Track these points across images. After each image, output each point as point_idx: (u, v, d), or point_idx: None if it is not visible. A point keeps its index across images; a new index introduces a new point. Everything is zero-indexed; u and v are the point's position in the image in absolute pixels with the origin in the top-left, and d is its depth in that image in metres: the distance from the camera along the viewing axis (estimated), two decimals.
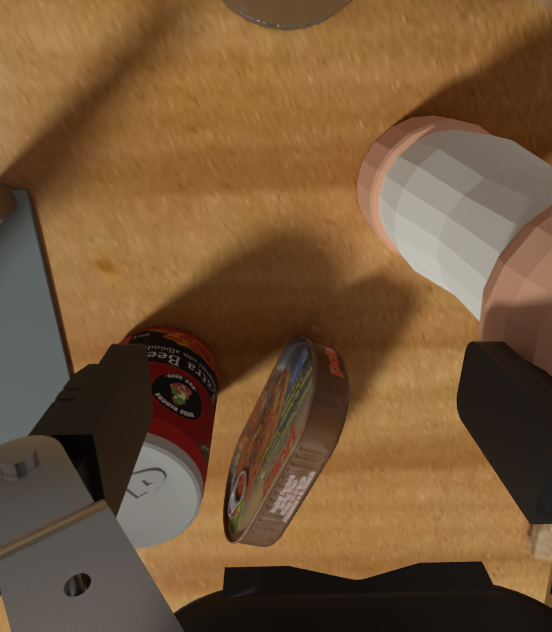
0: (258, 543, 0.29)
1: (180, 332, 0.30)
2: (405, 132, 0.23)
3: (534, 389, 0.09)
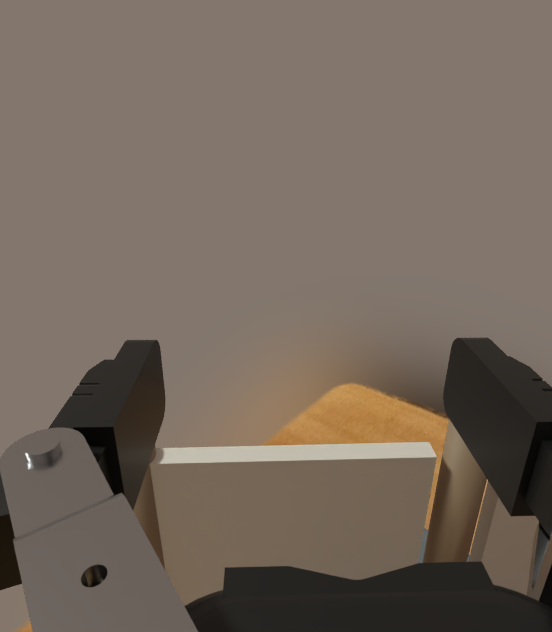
0: None
1: None
2: None
3: (515, 384, 0.09)
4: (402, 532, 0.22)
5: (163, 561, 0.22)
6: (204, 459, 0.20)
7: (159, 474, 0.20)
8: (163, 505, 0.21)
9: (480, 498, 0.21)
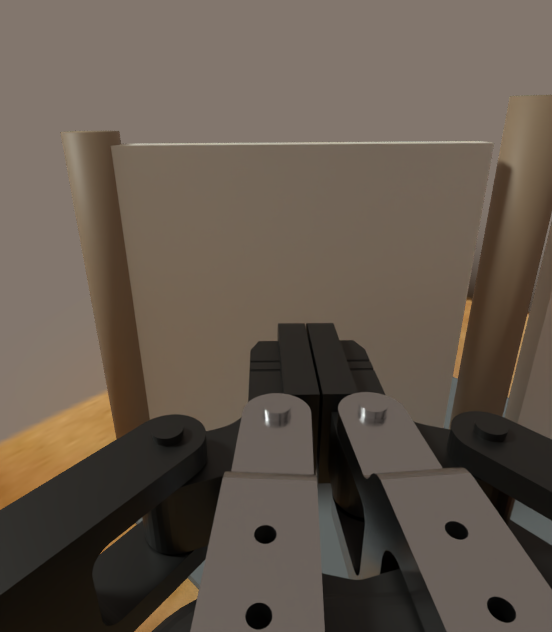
0: None
1: None
2: None
3: (327, 362, 0.10)
4: (443, 274, 0.17)
5: (134, 316, 0.17)
6: (183, 144, 0.15)
7: (124, 164, 0.15)
8: (131, 220, 0.16)
9: (549, 211, 0.16)
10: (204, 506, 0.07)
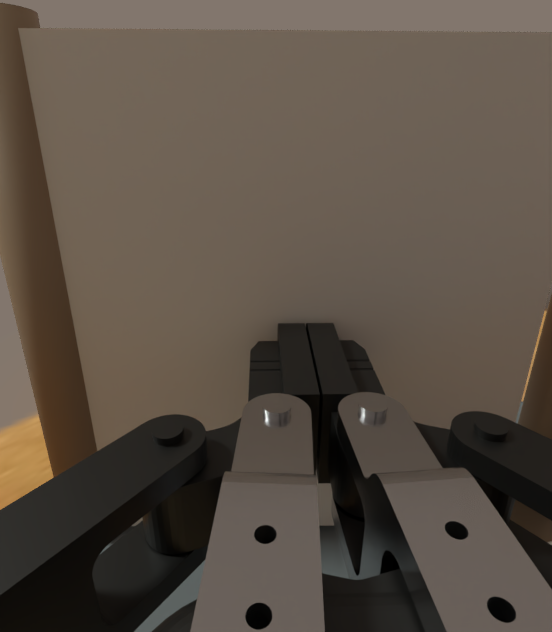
0: None
1: None
2: None
3: (327, 362, 0.10)
4: (521, 244, 0.11)
5: (67, 299, 0.12)
6: (132, 31, 0.10)
7: (41, 60, 0.10)
8: (56, 152, 0.10)
9: None
10: (204, 506, 0.07)
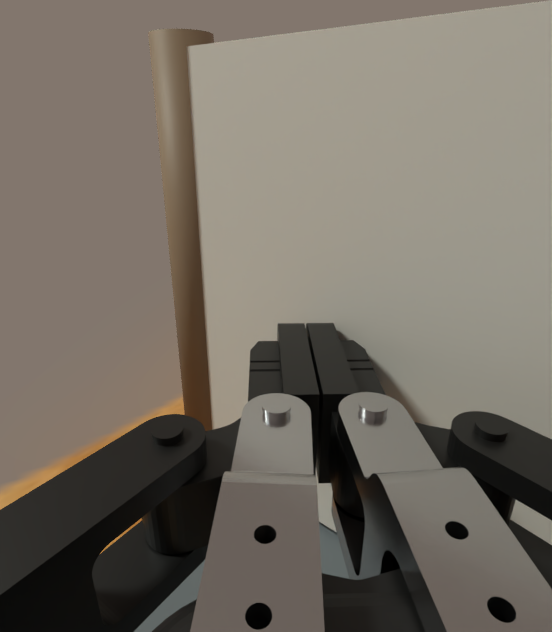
0: None
1: None
2: None
3: (328, 362, 0.10)
4: None
5: (200, 261, 0.15)
6: (256, 39, 0.11)
7: (196, 70, 0.12)
8: (201, 142, 0.13)
9: None
10: (204, 506, 0.07)
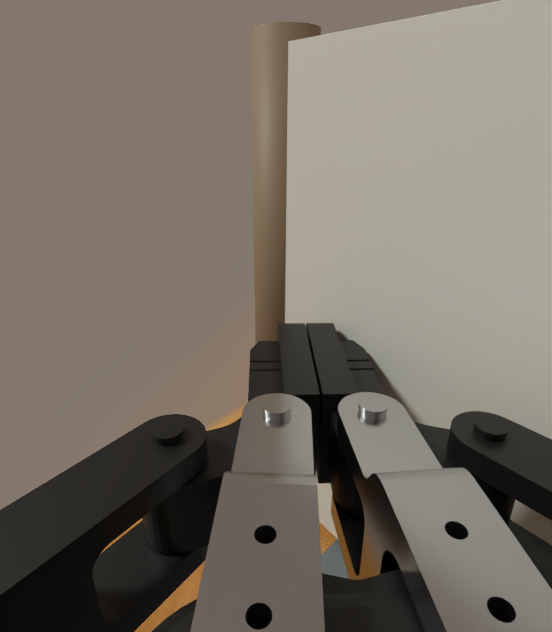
0: None
1: None
2: None
3: (327, 362, 0.10)
4: None
5: (284, 277, 0.13)
6: (365, 29, 0.09)
7: (296, 67, 0.11)
8: (295, 148, 0.12)
9: None
10: (204, 506, 0.07)
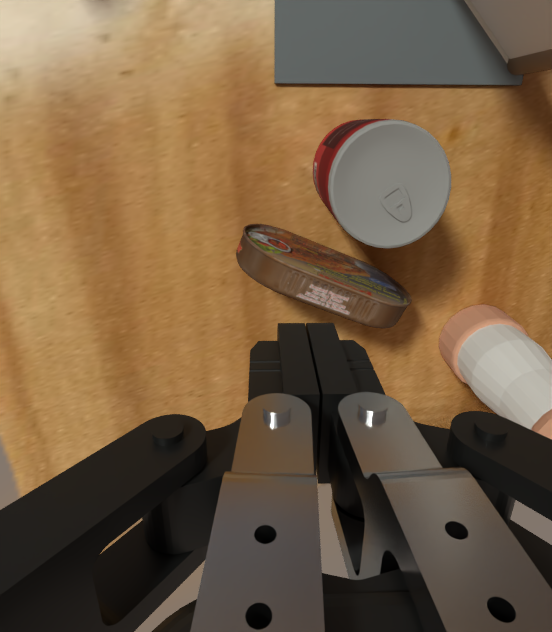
0: (268, 274, 0.34)
1: None
2: None
3: (327, 362, 0.10)
4: None
5: None
6: None
7: None
8: None
9: None
10: (204, 506, 0.07)
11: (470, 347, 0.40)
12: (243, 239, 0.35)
